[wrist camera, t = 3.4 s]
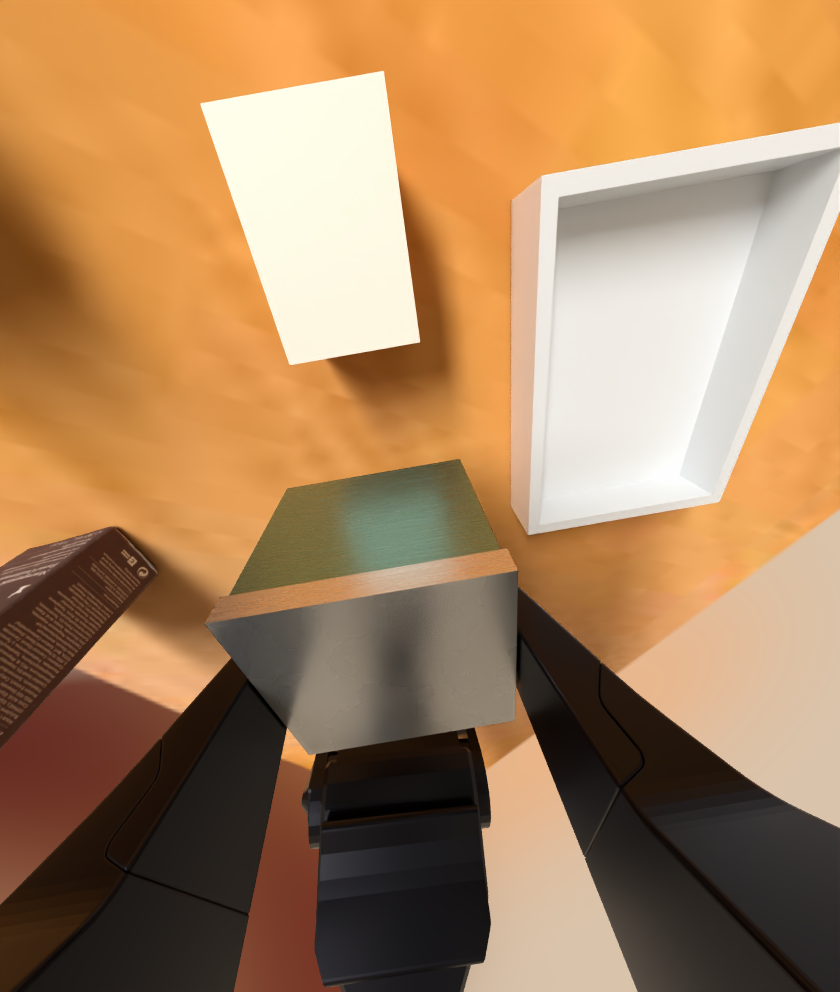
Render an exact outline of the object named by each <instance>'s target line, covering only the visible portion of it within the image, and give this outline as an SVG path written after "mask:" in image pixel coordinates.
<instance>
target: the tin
mask: <svg viewBox="0 0 840 992" xmlns="http://www.w3.org/2000/svg"><path fill="white" fill-rule="evenodd" d="M517 599H518V569H517V567H516V565H515V563H514V561H513V559H512V557H511V555H510V553H509V551H508V549H507V548H506V549H500V547H499V544H498V542H497V540H496V538H495V536H494V533H493V531H492V529H491V527H490V525H489V522H488V520H487V518H486V516H485V514H484V511H483V509H482V507H481V505H480V502H479V500H478V498H477V496H476V494H475V491H474V489H473V487H472V485H471V483H470V480H469V478H468V476H467V474H466V472H465V469H464V467H463V465H462V463H461V461H460V459H457V460H451V461H445V462H439V463H433V464H428V465H422V466H416V467H410V468H404V469H399V470H393V471H387V472H381V473H375V474H370V475H364V476H358V477H352V478H346V479H341V480H335V481H329V482H323V483H317V484H312V485H306V486H300V487H294V488H288V489H287V490H286V492H285V494H284V496H283V497H282V499H281V501H280V503H279V505H278V507H277V508H276V510H275V512H274V514H273V516H272V518H271V520H270V521H269V523H268V525H267V527H266V529H265V531H264V532H263V534H262V536H261V538H260V540H259V542H258V543H257V545H256V547H255V549H254V551H253V553H252V555H251V556H250V558H249V560H248V562H247V564H246V566H245V567H244V569H243V571H242V573H241V575H240V577H239V578H238V580H237V582H236V584H235V586H234V588H233V590H232V591H231V593H230V595H229V596H225V597H219V599H218V601H217V603H216V604H215V606H214V608H213V610H212V611H211V613H210V615H209V617H208V618H207V620H206V622H205V623H204V624H205V625H206V626H207V628H208V629H209V630H210V631H211V633H212V634H213V635H214V636H215V638H216V639H217V640H218V641H219V643H220V644H221V645H222V646H223V648H224V649H225V650H226V651H227V653H228V654H229V655H230V656H231V658H232V659H233V660H234V662H235V663H236V664H237V665H238V667H239V668H240V669H241V670H242V672H243V673H244V674H245V675H246V677H247V678H248V679H249V680H250V682H251V683H252V684H253V685H254V687H255V688H256V689H257V690H258V692H259V693H260V694H261V695H262V697H263V698H264V699H265V700H266V702H267V703H268V704H269V705H270V707H271V708H272V709H273V710H274V712H275V713H276V714H277V715H278V717H279V718H280V719H281V720H282V722H283V723H284V724H285V725H286V727H287V728H288V729H289V730H290V732H291V733H292V734H293V736H294V737H295V738H296V739H297V741H298V742H299V743H300V744H301V746H302V747H303V748H304V749H305V751H306V752H307V753H308V754H309V755H312V754H318V753H324V752H330V751H336V750H342V749H348V748H354V747H360V746H366V745H372V744H378V743H384V742H390V741H396V740H402V739H408V738H414V737H420V736H426V735H432V734H438V733H444V732H450V731H456V730H462V729H468V728H474V727H480V726H486V725H492V724H498V723H504V722H510V721H515V703H516V651H517Z"/></svg>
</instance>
